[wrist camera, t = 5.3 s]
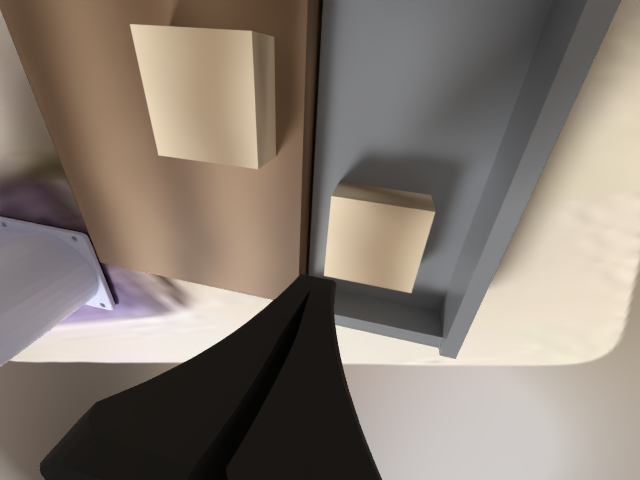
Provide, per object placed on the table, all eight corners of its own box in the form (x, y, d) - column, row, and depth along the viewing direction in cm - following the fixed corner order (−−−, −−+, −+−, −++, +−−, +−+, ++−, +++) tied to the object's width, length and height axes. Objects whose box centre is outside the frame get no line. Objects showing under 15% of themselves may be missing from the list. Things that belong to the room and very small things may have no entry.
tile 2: (187, 145, 14) (158, 155, 12) (168, 30, 12) (129, 24, 10) (276, 156, 13) (258, 169, 12) (274, 36, 11) (251, 30, 9)
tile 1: (331, 255, 17) (323, 275, 15) (339, 181, 15) (331, 195, 13) (410, 270, 16) (411, 293, 15) (431, 194, 14) (435, 212, 12)
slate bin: (313, 280, 20) (295, 322, 17) (334, -50, 12) (308, -98, 8) (445, 307, 19) (455, 358, 16) (581, -48, 10) (669, -106, 7)
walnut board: (133, 240, 22) (100, 262, 20) (47, -41, 14) (-29, -65, 12) (310, 275, 20) (297, 305, 18) (328, -37, 12) (309, -65, 9)
